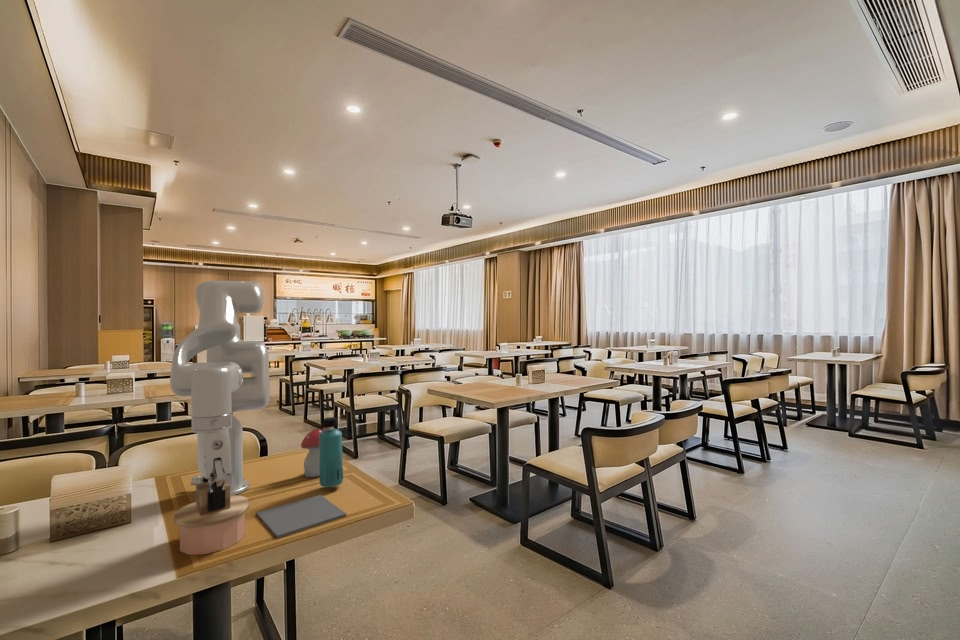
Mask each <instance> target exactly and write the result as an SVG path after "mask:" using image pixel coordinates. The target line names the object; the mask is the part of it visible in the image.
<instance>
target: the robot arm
mask: <svg viewBox="0 0 960 640" xmlns="http://www.w3.org/2000/svg"><path fill="white" fill-rule="evenodd" d="M195 300H196V304H197V307H198V310H199V319H198V327H197V328H196V329H194V330H192V331H191V332H190V333H189V334H188V335H186V336H185V337H184V338H183V339H182V340H181V341H180V343H179V344H178V345H177V346H176V348H175V350H174V353H173V355H172V362H171V369H170V377H169V383H170V384H169V385H170V388H171V391H172V393H174V395H176V396H179V397H191V399H190V400H191V409H190V410H191V411H190V412H191V432H192V433H194V434H197V436H196V437H197V438H196V439H197V442H196V443H197V444H196V445H197V446H196V447H197V451H196V452H197V468H198V471H199V472H200V474H201V475H193V476H192V477H191V479H190V486H196V485H198V484H202V483H207V482H208V483H209V492H208V511H209V512H211V511H215V510H219V509H222V508H225V483H224V479H225V480H226V481H227V482H228V484H229V485H230V495H239V494H241V493H243V492H244V491H246V490H248V489H249V487H250V481H249V480H248V479H246V478H245V479H244V455H243V453H244V450H243V449H244V448H243V447H244V446H243V442H244V440H243V439H244V437H243V433H244V432H243V425H242V423H241V421H240V420H239V419H238V418H237V417H236V416H235V415H234V414H233V413H235V412H245V411H255V410H262V409H264V408H266V407H267V406H268V405H269V402H270V393H271V392H270V391H271V390H270V389H271V388H270V387H271V386H270V359H269V358H270V357H269V351H268V348H267V346H266V344H265V343H263V342H262V341H259V340H249V341H248V340H247V341H244V340H243V341H241V326H240V324H239V323H238V314H257V313H258V314H259V313H260V312H261V311H262V310H263V307H264V304H265V303H264V302H265V301H264V300H265V294H264V288H263V286H262V284H261V283H260V282H259V281H248V280H244V281H243V280H206V281H202V282H200V283H198V284H197V285H196V287H195ZM204 351H206V362H189V361H190V360H191V359H192V358H193V357H195V356H196V355H198V354H200V353H201V352H204ZM244 374H249V375H251V376H245V377H244ZM212 481H215V482H214V483H213V484H212Z"/></svg>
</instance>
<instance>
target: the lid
mask: <svg viewBox="0 0 960 640" xmlns="http://www.w3.org/2000/svg"><path fill="white" fill-rule="evenodd" d="M214 482H215V481H212V484H213V483H214ZM224 483H225V508H222V509H219V510H215V511H211V512H209V511H208V492H209V483H208V482H207V483H202V484H198V485H195V501H194V502H191V503H188V504H186V505H184V506H182V507H181V508H180V509H178V510H177V511H176V512H175V513H174V515H173V523H174V524H175V525H176V526H178V527H180V526H181V527H186V528H197V527H206V526H212V525H216V524H220V523H223V522H226V521H229V520H232V519H234V518H236V517H238V516H240V515H242V514H243V513H245V514H246V512H247V511H248V510H249V508H250V499H249V498H248V497H246V496H243V495H239V494H236V495H230V485H229V484H228V482H227V481H226V480H225V479H224Z"/></svg>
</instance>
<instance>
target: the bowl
mask: <svg viewBox="0 0 960 640" xmlns="http://www.w3.org/2000/svg"><path fill="white" fill-rule="evenodd" d="M245 515H246V512H245V513H243V514H242V515H240V516H238V517H236V518H234V519H232V520H229V521H226V522H223V523H220V524H216V525H212V526H206V527H197V528H186V527H181V526H179V552H181V553H184V554H186V555H187V556H189V555H191V556H192V555H195V556H197V555H206V554H207V555H208V554H212V553H216V552H220V551H223V550H225V549H228V548H230V547H232V546H235V545H237V544H238V543H239V542H240V541H241V540H242V539H243V538H244V537H245V536H246V516H245Z"/></svg>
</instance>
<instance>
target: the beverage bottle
mask: <svg viewBox="0 0 960 640" xmlns="http://www.w3.org/2000/svg"><path fill="white" fill-rule="evenodd" d="M337 426H339V421H338V418H337V417H326V418H323V420H322V428H323V427H330V429H326V430H323V431H322V432H321V433H320V434H319V454H320V457H319V466H320V468H319V469H320V475H319V476H318V478H319V484H320V486H321V487H323V488H333V487H334V488H335V487H337V486H340V485H342V484H343V480H344V465H343V461H344V460H343V432H342V431H341V430H340V429H338V428H333V427H337Z"/></svg>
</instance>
